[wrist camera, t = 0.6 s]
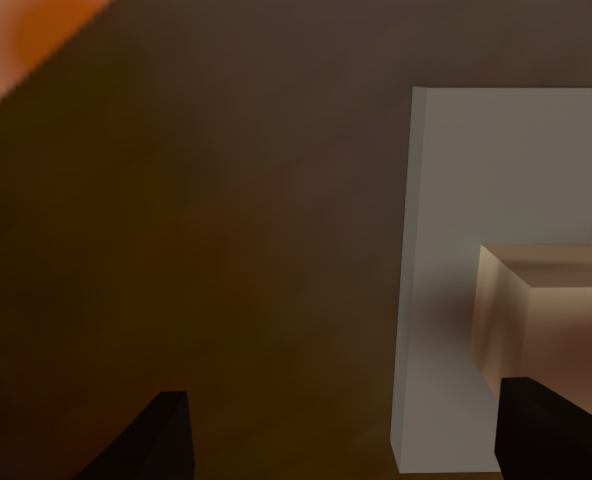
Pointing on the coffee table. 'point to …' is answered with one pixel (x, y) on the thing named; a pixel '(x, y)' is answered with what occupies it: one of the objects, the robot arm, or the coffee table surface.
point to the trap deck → (475, 247)
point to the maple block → (535, 317)
